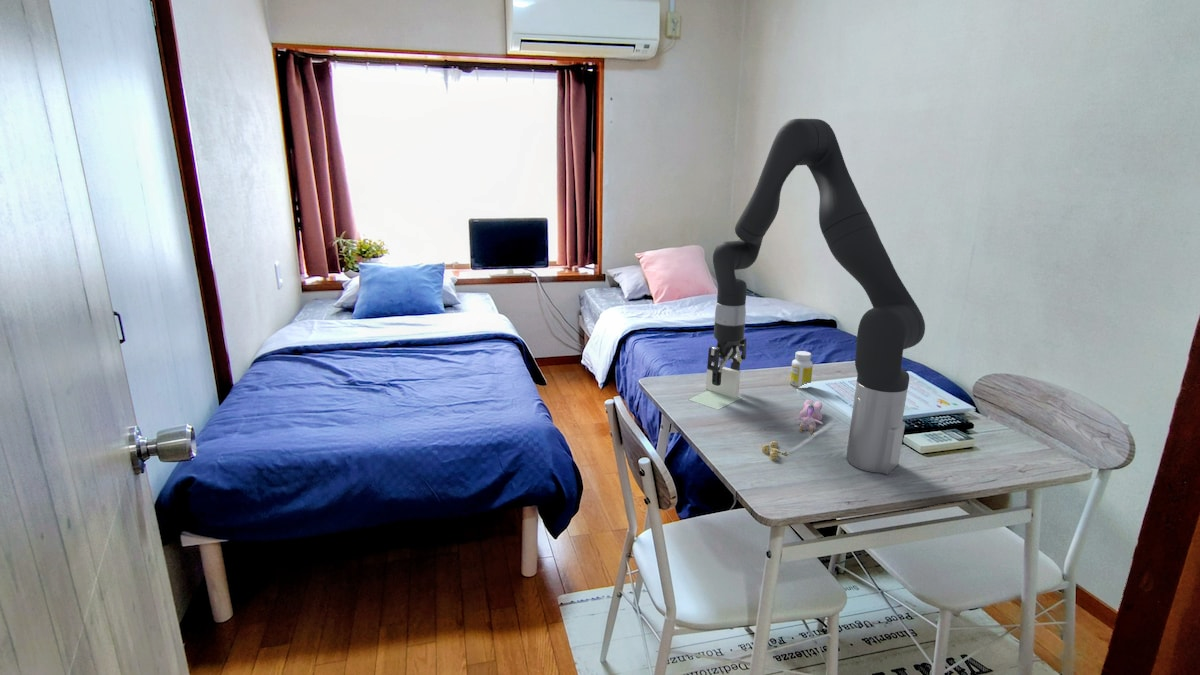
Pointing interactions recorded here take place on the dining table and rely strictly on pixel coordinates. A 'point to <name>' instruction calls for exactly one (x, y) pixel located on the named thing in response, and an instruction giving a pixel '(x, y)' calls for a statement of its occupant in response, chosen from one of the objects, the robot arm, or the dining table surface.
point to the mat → (713, 399)
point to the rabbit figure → (810, 416)
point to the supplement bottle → (801, 369)
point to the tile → (725, 382)
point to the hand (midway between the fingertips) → (725, 380)
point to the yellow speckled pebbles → (774, 451)
